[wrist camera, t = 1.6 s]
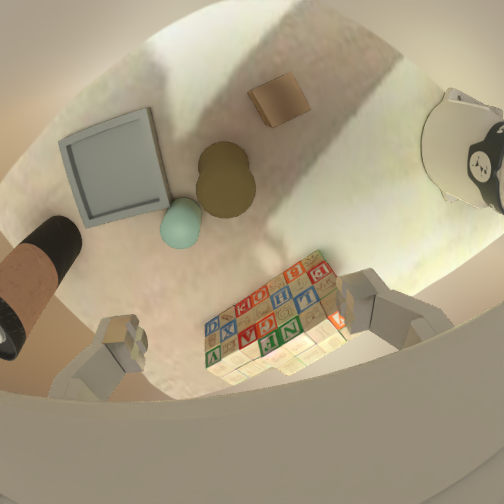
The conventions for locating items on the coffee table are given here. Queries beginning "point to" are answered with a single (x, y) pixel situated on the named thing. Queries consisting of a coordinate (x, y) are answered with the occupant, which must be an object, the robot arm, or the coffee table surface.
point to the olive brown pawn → (225, 180)
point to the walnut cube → (279, 100)
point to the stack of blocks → (278, 325)
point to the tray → (116, 169)
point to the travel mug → (33, 279)
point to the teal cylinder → (181, 224)
